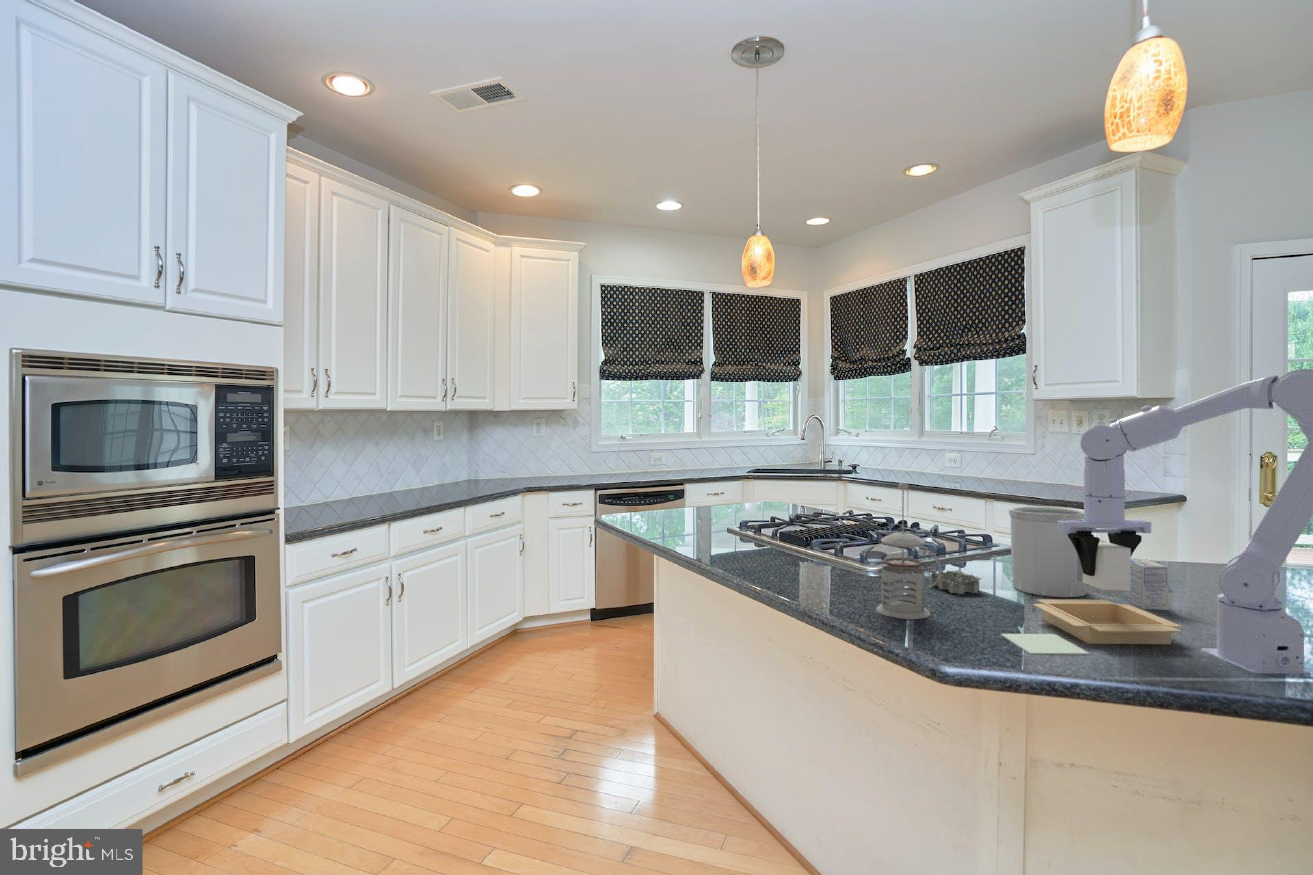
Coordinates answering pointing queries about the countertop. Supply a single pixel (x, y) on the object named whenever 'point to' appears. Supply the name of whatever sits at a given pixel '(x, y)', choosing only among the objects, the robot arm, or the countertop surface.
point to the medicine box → (1148, 585)
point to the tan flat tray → (1107, 622)
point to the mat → (1044, 644)
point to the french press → (904, 576)
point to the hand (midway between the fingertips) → (1103, 574)
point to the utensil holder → (1044, 552)
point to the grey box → (1109, 568)
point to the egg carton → (955, 581)
